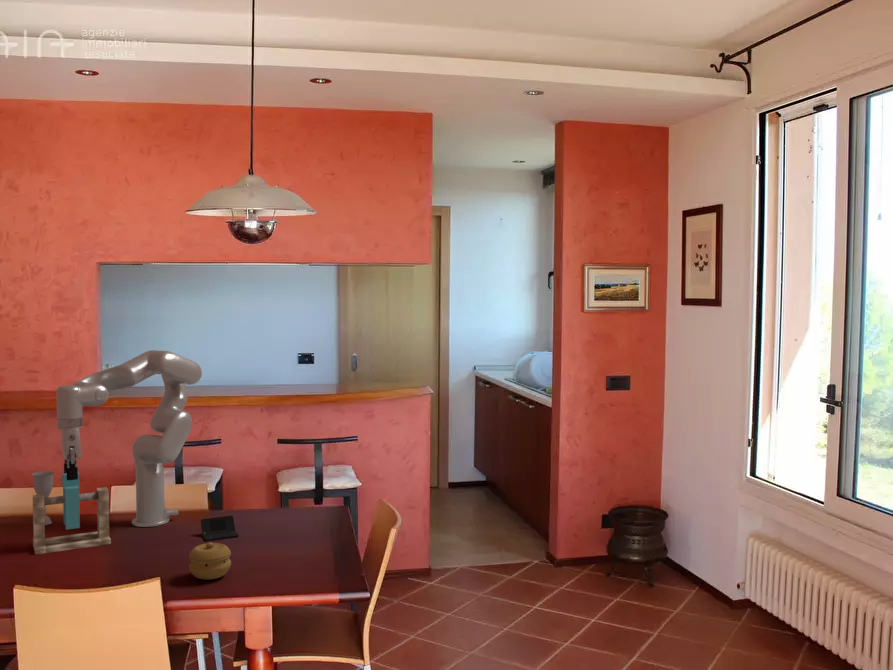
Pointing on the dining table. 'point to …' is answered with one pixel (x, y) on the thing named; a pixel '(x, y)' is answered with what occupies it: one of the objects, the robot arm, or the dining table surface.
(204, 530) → the handheld gaming console
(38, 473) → the chalice
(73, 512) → the teal rectangular block
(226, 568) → the pot
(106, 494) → the rack
